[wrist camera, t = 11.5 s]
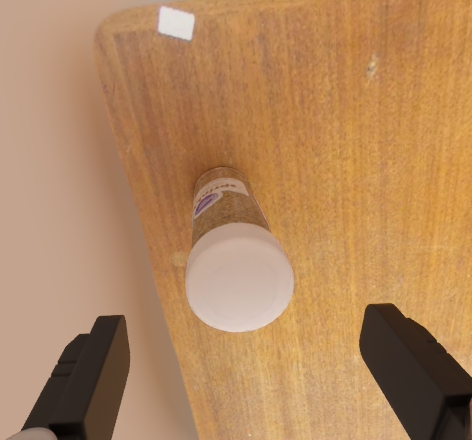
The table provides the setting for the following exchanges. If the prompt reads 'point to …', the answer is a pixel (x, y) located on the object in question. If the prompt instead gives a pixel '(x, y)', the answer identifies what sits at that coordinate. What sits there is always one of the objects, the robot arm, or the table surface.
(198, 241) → the sprinkles bottle
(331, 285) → the table surface
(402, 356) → the robot arm
